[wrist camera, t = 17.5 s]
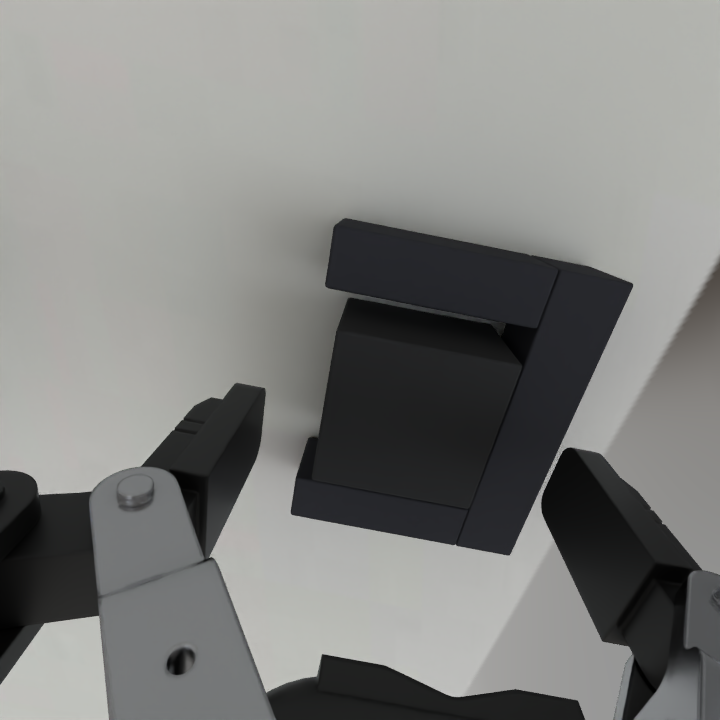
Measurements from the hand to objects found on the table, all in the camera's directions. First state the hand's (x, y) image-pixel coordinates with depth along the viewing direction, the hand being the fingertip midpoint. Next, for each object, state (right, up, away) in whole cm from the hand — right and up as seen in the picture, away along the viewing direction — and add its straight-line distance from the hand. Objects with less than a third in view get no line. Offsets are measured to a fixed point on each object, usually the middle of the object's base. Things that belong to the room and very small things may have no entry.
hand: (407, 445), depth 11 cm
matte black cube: (0, +2, +4) cm, 4 cm away
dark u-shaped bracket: (+1, +1, +4) cm, 4 cm away
